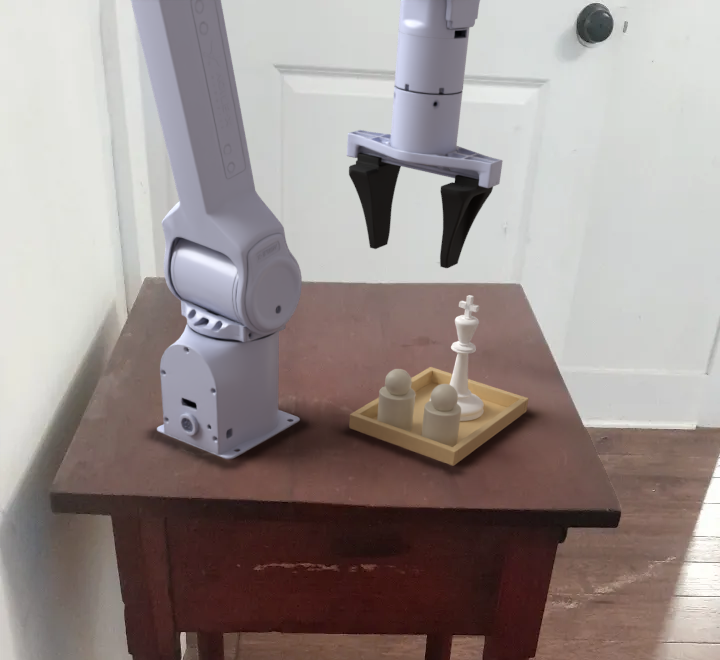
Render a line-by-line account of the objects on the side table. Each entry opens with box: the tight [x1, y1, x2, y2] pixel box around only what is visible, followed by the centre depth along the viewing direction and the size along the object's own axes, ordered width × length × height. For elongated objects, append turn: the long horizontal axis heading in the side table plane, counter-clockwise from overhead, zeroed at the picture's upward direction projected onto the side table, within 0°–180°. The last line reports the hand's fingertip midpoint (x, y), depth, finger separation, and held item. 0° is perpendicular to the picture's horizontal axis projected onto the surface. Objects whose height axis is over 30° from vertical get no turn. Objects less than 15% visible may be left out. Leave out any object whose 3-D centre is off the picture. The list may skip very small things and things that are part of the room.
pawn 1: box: [377, 368, 415, 432], centre depth 82 cm, size 3×3×5 cm
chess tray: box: [348, 366, 530, 466], centre depth 85 cm, size 13×10×2 cm
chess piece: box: [430, 294, 484, 421], centre depth 84 cm, size 5×5×10 cm
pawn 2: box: [421, 384, 461, 447], centre depth 80 cm, size 3×3×5 cm
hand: (413, 255), depth 90 cm, fingers open, 7 cm apart
